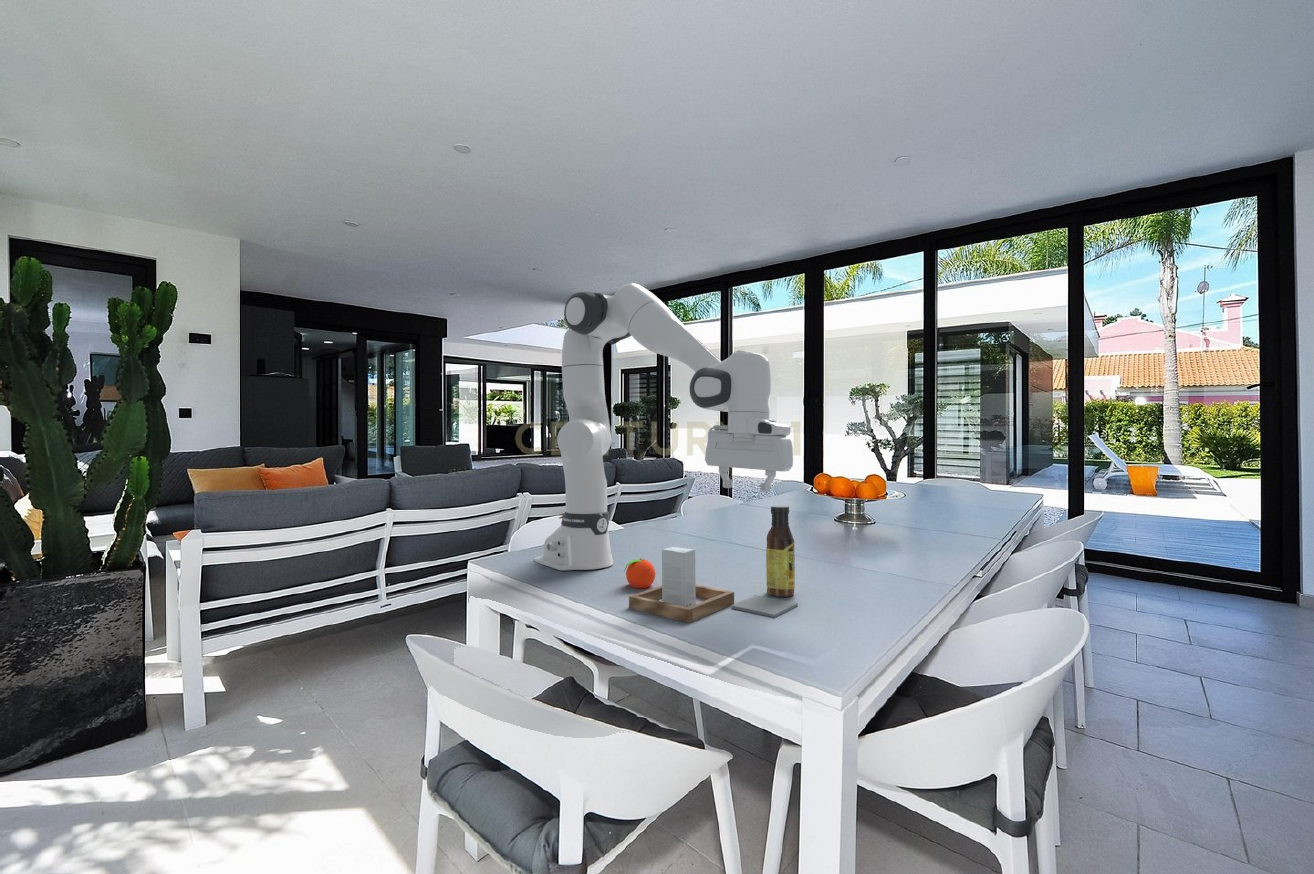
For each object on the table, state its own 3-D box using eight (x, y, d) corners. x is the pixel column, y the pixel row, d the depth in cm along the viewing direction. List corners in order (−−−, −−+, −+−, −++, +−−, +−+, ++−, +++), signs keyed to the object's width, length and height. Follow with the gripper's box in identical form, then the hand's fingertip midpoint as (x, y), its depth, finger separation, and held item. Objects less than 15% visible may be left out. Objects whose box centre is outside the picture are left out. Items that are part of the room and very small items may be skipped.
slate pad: (731, 608, 122) (731, 605, 122) (755, 597, 130) (755, 595, 130) (774, 617, 116) (774, 614, 116) (797, 606, 123) (797, 603, 123)
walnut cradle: (628, 608, 122) (628, 596, 122) (676, 591, 135) (676, 580, 135) (689, 623, 112) (688, 610, 112) (734, 603, 125) (734, 592, 125)
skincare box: (696, 606, 123) (696, 549, 123) (684, 611, 120) (684, 552, 120) (673, 601, 127) (673, 546, 127) (661, 605, 124) (661, 549, 124)
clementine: (631, 595, 132) (631, 563, 132) (616, 588, 138) (616, 558, 138) (661, 589, 137) (661, 559, 137) (645, 583, 142) (645, 554, 142)
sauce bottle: (795, 599, 129) (794, 508, 128) (766, 597, 130) (765, 507, 130) (794, 591, 135) (794, 504, 135) (766, 589, 136) (766, 504, 136)
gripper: (700, 424, 131) (698, 486, 131) (783, 426, 118) (780, 495, 118) (716, 425, 136) (714, 484, 136) (797, 427, 123) (795, 493, 123)
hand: (745, 489), depth 127 cm, fingers open, 8 cm apart
